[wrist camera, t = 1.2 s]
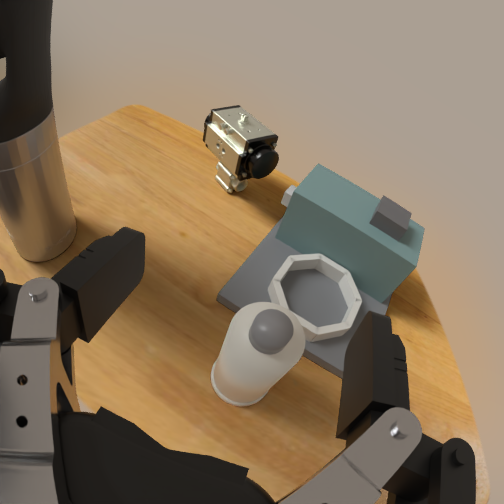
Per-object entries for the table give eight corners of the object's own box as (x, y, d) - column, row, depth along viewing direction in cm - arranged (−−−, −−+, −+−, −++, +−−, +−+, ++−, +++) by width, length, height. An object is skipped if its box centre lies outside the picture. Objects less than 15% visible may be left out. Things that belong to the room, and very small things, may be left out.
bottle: (198, 384, 30) (210, 335, 20) (231, 340, 33) (258, 274, 24) (250, 417, 29) (291, 386, 19) (279, 371, 32) (328, 318, 23)
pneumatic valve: (222, 158, 52) (235, 94, 43) (265, 203, 47) (288, 135, 38) (192, 167, 49) (201, 99, 40) (234, 215, 44) (252, 142, 35)
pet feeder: (212, 297, 36) (227, 228, 27) (287, 208, 48) (312, 145, 39) (352, 384, 33) (414, 344, 24) (394, 274, 44) (438, 222, 35)
